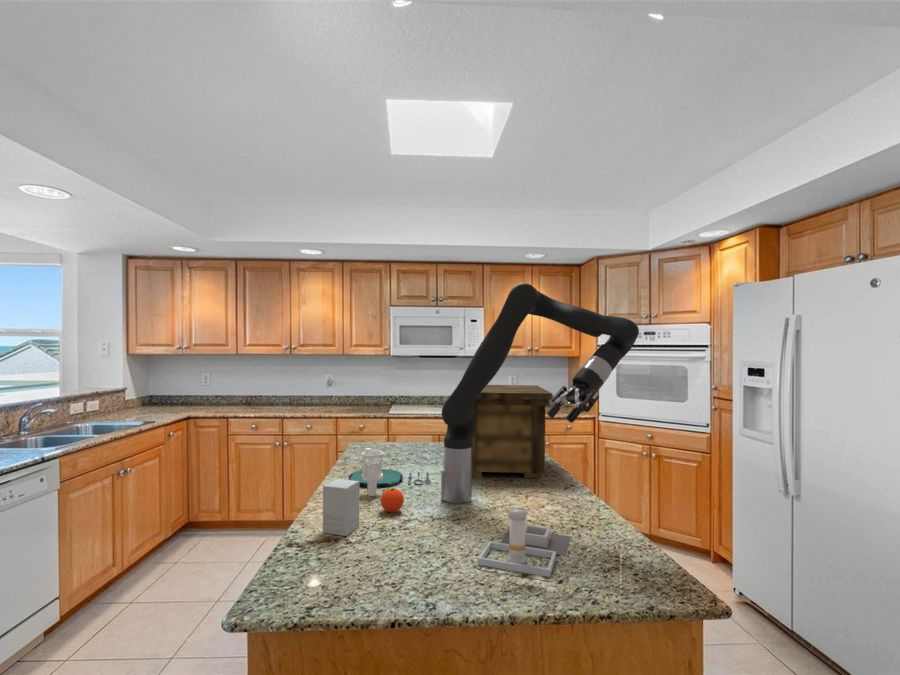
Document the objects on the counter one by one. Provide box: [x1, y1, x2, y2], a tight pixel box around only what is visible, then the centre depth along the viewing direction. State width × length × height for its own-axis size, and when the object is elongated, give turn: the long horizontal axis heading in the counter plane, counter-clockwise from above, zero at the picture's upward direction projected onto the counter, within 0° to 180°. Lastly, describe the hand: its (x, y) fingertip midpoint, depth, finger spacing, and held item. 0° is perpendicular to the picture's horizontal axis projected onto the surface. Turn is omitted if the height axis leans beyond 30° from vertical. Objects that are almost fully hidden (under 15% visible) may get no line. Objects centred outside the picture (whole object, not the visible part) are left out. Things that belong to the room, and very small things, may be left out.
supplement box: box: [322, 478, 360, 537], centre depth 131 cm, size 7×7×13 cm
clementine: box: [380, 487, 405, 513], centre depth 146 cm, size 8×7×7 cm
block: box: [500, 524, 572, 556], centre depth 122 cm, size 16×12×4 cm
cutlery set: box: [348, 468, 431, 487], centre depth 179 cm, size 20×30×2 cm, turn 93°
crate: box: [472, 384, 554, 479], centre depth 197 cm, size 35×35×33 cm
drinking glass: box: [361, 447, 384, 497], centre depth 162 cm, size 7×7×15 cm
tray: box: [477, 541, 557, 583], centre depth 111 cm, size 16×10×3 cm, turn 70°
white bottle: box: [507, 506, 527, 565], centre depth 111 cm, size 4×4×12 cm
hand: (559, 418), depth 133 cm, fingers open, 8 cm apart
